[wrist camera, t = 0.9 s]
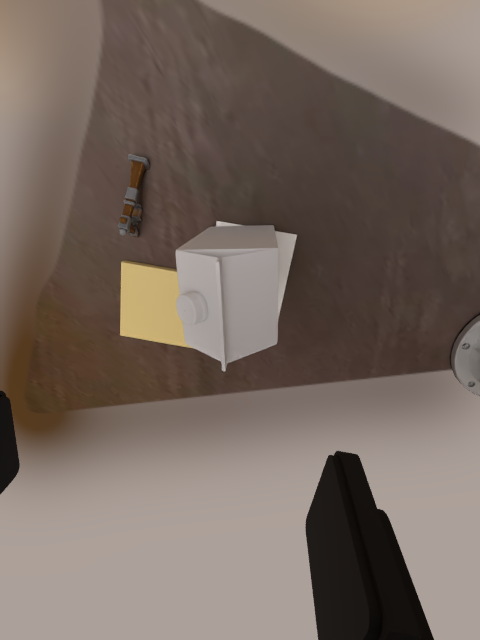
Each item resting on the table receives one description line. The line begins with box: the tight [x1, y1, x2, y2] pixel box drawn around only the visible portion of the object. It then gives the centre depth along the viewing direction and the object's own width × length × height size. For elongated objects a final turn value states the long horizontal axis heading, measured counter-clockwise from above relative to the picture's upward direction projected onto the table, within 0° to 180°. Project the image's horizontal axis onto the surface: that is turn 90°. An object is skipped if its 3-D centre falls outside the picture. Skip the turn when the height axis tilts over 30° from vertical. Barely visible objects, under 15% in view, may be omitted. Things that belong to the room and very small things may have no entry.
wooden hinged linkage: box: [117, 154, 150, 237], centre depth 34 cm, size 2×8×4 cm, turn 169°
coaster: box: [120, 260, 193, 348], centre depth 39 cm, size 10×10×1 cm
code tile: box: [216, 221, 297, 318], centre depth 38 cm, size 9×12×1 cm
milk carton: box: [176, 225, 279, 371], centre depth 28 cm, size 7×7×19 cm
